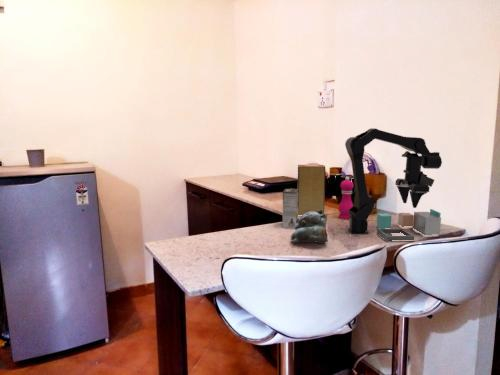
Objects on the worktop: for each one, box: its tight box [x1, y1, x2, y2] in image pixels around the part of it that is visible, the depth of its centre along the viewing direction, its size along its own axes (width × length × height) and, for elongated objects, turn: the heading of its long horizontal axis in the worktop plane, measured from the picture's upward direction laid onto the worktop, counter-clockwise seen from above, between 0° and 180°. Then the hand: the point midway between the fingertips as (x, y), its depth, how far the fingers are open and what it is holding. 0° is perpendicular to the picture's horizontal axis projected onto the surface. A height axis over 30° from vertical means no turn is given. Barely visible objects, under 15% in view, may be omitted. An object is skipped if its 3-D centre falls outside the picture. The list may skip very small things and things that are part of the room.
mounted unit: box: [413, 208, 442, 235], centre depth 149 cm, size 6×10×10 cm, turn 1°
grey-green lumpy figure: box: [290, 210, 329, 244], centre depth 139 cm, size 15×12×14 cm
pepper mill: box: [338, 176, 355, 220], centre depth 175 cm, size 7×7×20 cm
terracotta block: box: [397, 212, 414, 227], centre depth 159 cm, size 4×4×6 cm
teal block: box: [376, 213, 392, 229], centre depth 158 cm, size 4×4×6 cm
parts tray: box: [376, 228, 415, 241], centre depth 144 cm, size 10×10×2 cm
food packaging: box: [296, 164, 326, 215], centre depth 181 cm, size 13×9×25 cm
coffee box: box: [282, 188, 299, 229], centre depth 162 cm, size 9×6×16 cm
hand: (409, 205), depth 152 cm, fingers open, 9 cm apart
